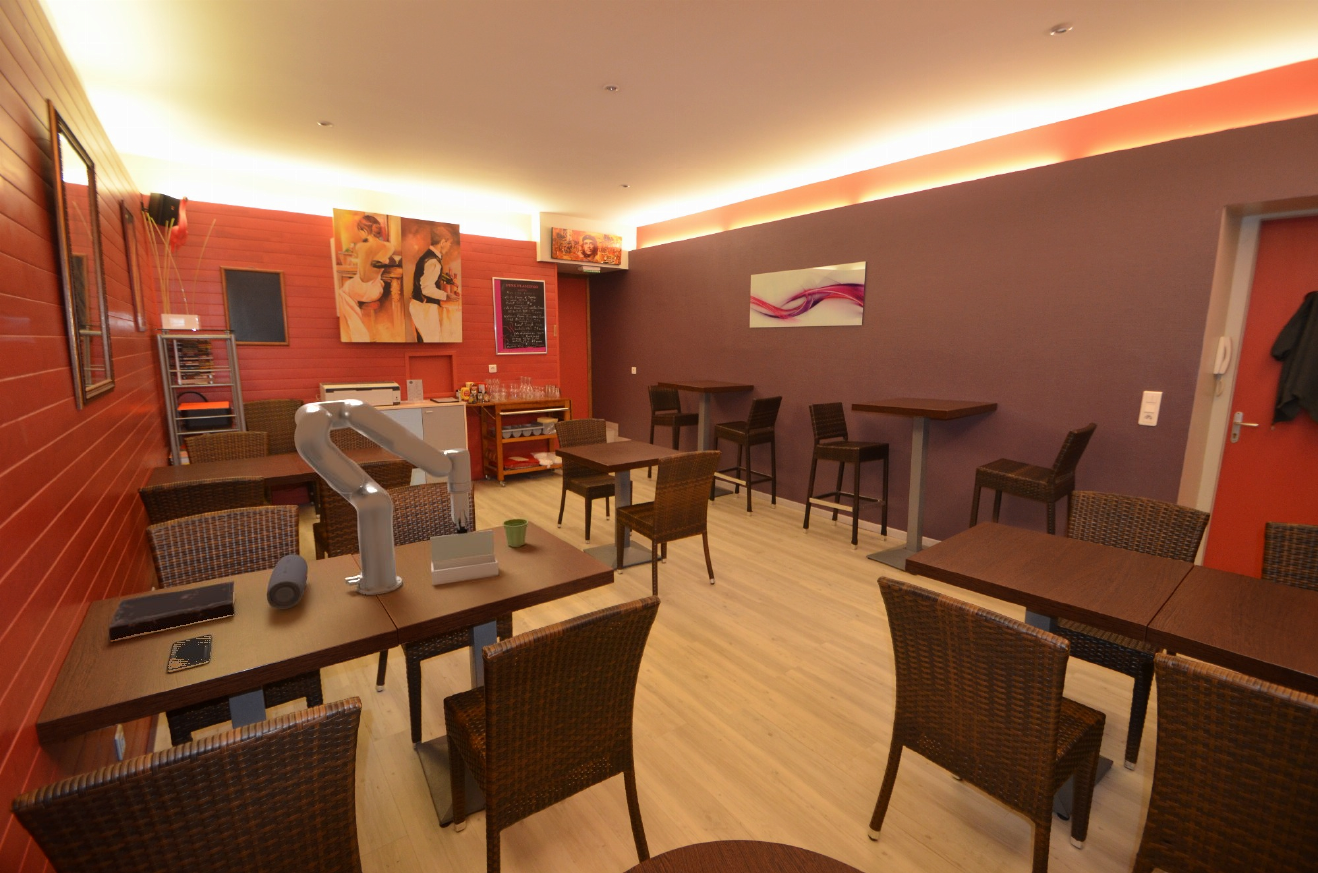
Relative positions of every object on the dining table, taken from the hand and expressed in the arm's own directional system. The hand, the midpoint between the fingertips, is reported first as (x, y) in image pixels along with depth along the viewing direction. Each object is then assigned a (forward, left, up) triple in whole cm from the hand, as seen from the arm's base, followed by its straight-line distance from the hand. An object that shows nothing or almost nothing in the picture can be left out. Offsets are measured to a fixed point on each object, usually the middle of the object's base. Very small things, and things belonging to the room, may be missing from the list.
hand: (462, 539), depth 190 cm
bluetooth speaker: (-49, -5, -10) cm, 50 cm away
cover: (0, -3, -1) cm, 3 cm away
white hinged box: (0, -8, -10) cm, 12 cm away
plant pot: (+20, +15, -10) cm, 27 cm away
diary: (-75, -6, -11) cm, 76 cm away
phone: (-65, -32, -10) cm, 73 cm away
